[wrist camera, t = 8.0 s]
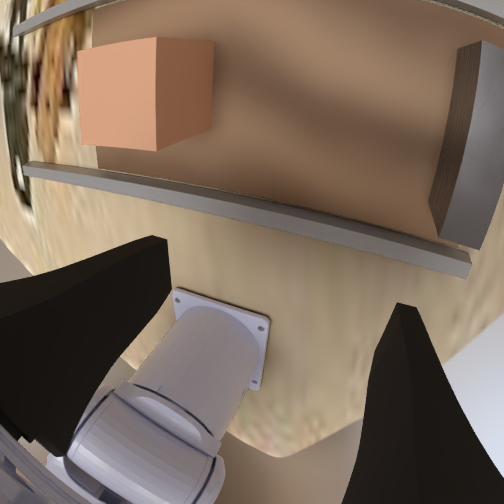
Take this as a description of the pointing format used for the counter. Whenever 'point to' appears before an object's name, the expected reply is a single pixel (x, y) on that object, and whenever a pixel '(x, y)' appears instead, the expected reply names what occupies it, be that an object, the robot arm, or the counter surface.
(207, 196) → the lane rails
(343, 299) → the counter surface
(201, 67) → the cube
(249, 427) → the counter surface
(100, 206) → the counter surface
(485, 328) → the counter surface
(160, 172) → the large flat tan board
